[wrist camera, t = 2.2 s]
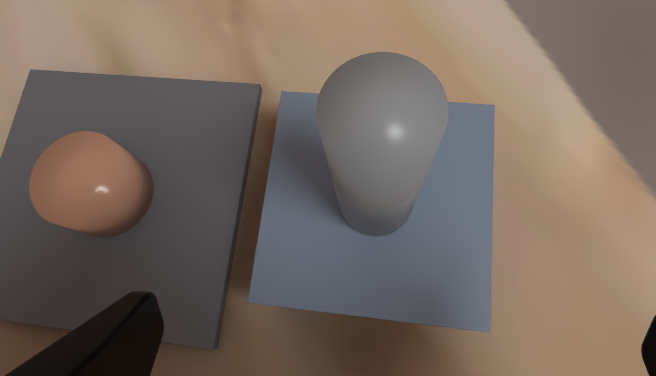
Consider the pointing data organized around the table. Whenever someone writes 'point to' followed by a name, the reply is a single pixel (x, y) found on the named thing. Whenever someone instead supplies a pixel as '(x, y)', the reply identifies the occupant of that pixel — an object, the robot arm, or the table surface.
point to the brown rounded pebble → (91, 185)
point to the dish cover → (379, 200)
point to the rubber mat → (159, 221)
